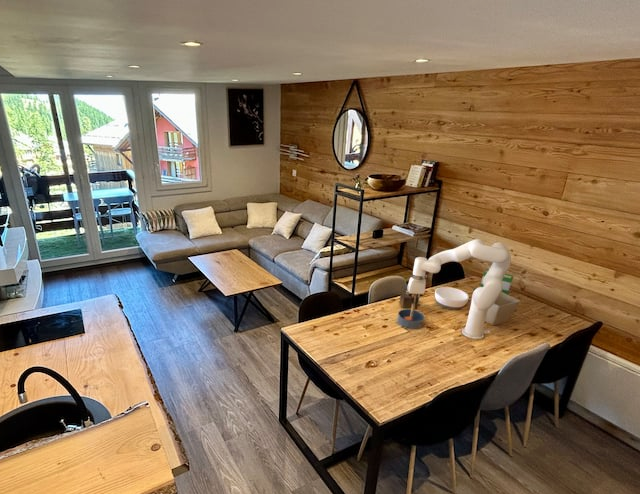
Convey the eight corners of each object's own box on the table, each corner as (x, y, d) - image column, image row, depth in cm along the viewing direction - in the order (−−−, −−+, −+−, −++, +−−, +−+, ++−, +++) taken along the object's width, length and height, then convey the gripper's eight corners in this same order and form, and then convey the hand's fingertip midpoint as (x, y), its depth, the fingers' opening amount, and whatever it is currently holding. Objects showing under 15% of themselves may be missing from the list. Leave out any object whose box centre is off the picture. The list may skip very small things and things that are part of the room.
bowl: (446, 294, 295) (448, 284, 292) (473, 307, 278) (475, 296, 274) (426, 301, 284) (428, 290, 281) (453, 314, 267) (455, 303, 264)
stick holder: (413, 302, 281) (415, 291, 278) (416, 309, 272) (418, 298, 269) (399, 302, 282) (401, 291, 279) (402, 308, 273) (404, 297, 269)
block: (408, 321, 256) (409, 316, 254) (411, 324, 252) (412, 319, 251) (402, 322, 255) (403, 317, 253) (406, 325, 251) (407, 320, 250)
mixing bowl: (419, 317, 262) (420, 309, 260) (425, 330, 247) (427, 322, 245) (394, 316, 263) (395, 308, 260) (399, 329, 248) (401, 321, 246)
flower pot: (493, 329, 250) (500, 306, 243) (469, 315, 266) (474, 293, 259) (514, 323, 257) (520, 300, 251) (489, 310, 273) (495, 288, 267)
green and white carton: (476, 302, 284) (483, 272, 275) (478, 298, 290) (485, 269, 280) (503, 309, 275) (511, 278, 265) (505, 306, 280) (513, 275, 271)
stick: (411, 318, 256) (416, 294, 249) (412, 320, 254) (417, 295, 247) (409, 318, 256) (413, 294, 249) (409, 320, 254) (414, 295, 247)
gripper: (429, 274, 246) (424, 300, 253) (404, 273, 247) (400, 299, 254) (433, 279, 239) (428, 306, 246) (407, 278, 240) (402, 304, 247)
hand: (413, 302), depth 250 cm, fingers closed on stick, 1 cm apart
